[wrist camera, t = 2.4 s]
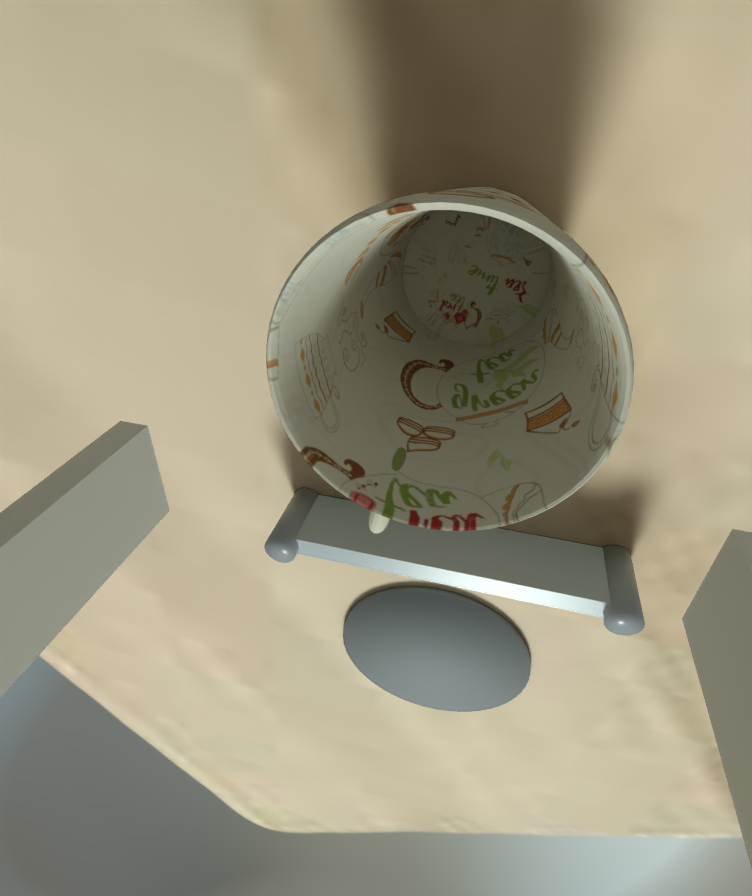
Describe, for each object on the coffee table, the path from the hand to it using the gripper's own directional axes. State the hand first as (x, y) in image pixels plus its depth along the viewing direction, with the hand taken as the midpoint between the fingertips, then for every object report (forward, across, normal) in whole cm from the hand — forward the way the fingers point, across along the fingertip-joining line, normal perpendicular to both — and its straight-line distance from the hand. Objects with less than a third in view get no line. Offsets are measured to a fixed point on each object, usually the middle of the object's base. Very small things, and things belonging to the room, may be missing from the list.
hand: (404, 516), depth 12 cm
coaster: (+12, +1, -22) cm, 25 cm away
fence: (+12, +1, -10) cm, 16 cm away
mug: (+12, 0, 0) cm, 12 cm away
